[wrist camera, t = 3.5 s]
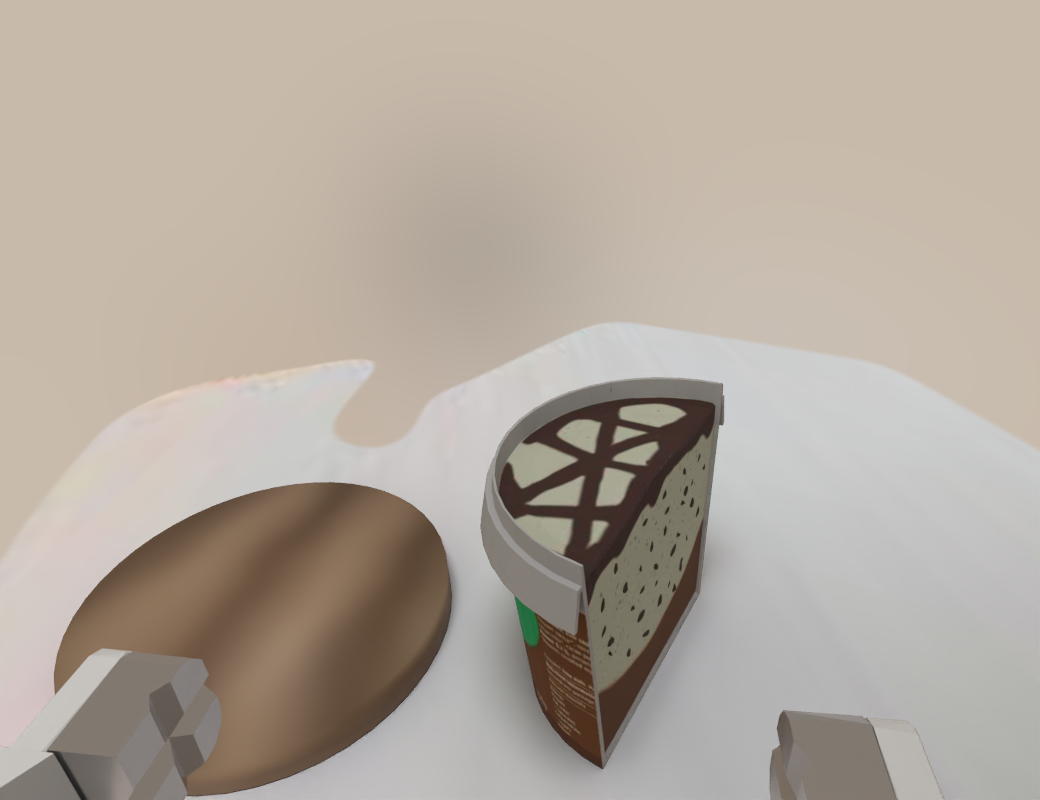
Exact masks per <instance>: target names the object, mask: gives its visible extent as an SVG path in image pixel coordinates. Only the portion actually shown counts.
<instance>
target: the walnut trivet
mask: <svg viewBox="0 0 1040 800" xmlns="http://www.w3.org/2000/svg"><path fill="white" fill-rule="evenodd" d="M451 596H452V593H451V586H450V578H449V572H448V565H447V559H446V553H445V549H444V547H443V544H442V541H441V538H440V536H439V534H438V533H437V531H436V529H435V527H434V526H433V524H432V523H431V522H430V521H429V520H428V519H427V517H426V516H425V515H424V514H423V513H422V512H420V511H419V510H418V509H417V508H415V507H414V506H413V505H411V504H410V503H408V502H406V501H405V500H403V499H401V498H399V497H397V496H395V495H392V494H390V493H388V492H385V491H382V490H378V489H375V488H371V487H367V486H361V485H355V484H347V483H334V482H329V483H304V484H294V485H287V486H281V487H275V488H270V489H266V490H262V491H257V492H253V493H250V494H247V495H243V496H240V497H237V498H233V499H231V500H228V501H225V502H223V503H220V504H217V505H215V506H212V507H210V508H208V509H205V510H203V511H201V512H199V513H196V514H194V515H192V516H190V517H188V518H186V519H184V520H182V521H181V522H179V523H177V524H175V525H173V526H171V527H170V528H168V529H166V530H165V531H163V532H161V533H160V534H158V535H157V536H155V537H153V538H152V539H150V540H149V541H148V542H146V543H145V544H143V545H142V546H141V547H139V548H138V549H136V550H135V551H134V552H132V553H131V554H130V555H129V556H128V557H126V558H125V559H124V560H123V561H122V562H120V563H119V564H118V565H117V566H116V567H115V568H114V569H113V570H112V571H111V572H110V573H109V574H108V575H107V576H106V577H105V578H104V579H102V580H101V581H100V583H99V584H98V585H97V586H96V587H95V588H94V590H93V591H92V592H91V593H90V594H89V596H88V597H87V598H86V599H85V601H84V602H83V603H82V605H81V606H80V608H79V609H78V611H77V612H76V614H75V615H74V617H73V619H72V620H71V622H70V624H69V626H68V628H67V630H66V632H65V634H64V636H63V639H62V642H61V645H60V648H59V651H58V654H57V658H56V664H55V671H54V686H55V695H56V694H57V692H58V691H59V690H60V689H61V688H62V687H63V686H64V684H65V683H66V682H67V681H68V680H69V679H70V677H71V676H72V675H73V674H74V673H75V672H76V670H77V669H78V668H79V667H80V666H81V665H82V664H83V662H84V661H85V660H86V659H87V658H88V657H89V656H90V655H92V654H93V653H95V652H97V651H98V650H100V649H102V648H104V649H115V650H125V651H135V652H143V653H151V654H160V655H168V656H177V657H186V658H194V659H202V661H203V663H204V665H205V668H206V670H207V672H208V674H209V675H208V677H207V679H206V680H205V682H204V685H205V686H206V687H207V688H209V689H210V690H211V691H212V692H213V693H214V694H216V695H217V697H218V700H219V703H220V706H221V719H222V723H221V726H220V730H219V734H218V737H217V741H216V744H215V746H214V748H213V750H212V751H211V753H210V755H209V757H208V759H207V760H206V762H205V763H204V764H203V765H202V766H200V767H199V768H198V769H196V770H195V771H194V772H192V773H191V774H190V775H188V776H187V790H188V794H187V796H200V795H211V794H222V793H230V792H234V791H239V790H244V789H249V788H253V787H258V786H261V785H264V784H267V783H270V782H273V781H276V780H279V779H282V778H286V777H289V776H291V775H293V774H295V773H298V772H300V771H302V770H304V769H307V768H309V767H311V766H313V765H316V764H318V763H320V762H322V761H323V760H325V759H327V758H329V757H330V756H332V755H334V754H336V753H338V752H339V751H341V750H343V749H345V748H346V747H348V746H349V745H351V744H352V743H353V742H355V741H356V740H358V739H359V738H361V737H362V736H363V735H365V734H366V733H368V732H369V731H370V730H372V729H373V728H374V727H375V726H376V725H378V724H379V723H380V722H381V721H382V720H383V719H385V718H386V717H387V716H388V715H389V714H390V713H391V712H393V711H394V710H395V709H396V708H397V706H398V705H399V704H400V703H401V702H402V701H403V700H404V699H405V698H406V697H407V696H408V695H409V694H410V692H411V691H412V690H413V689H414V688H415V686H416V685H417V684H418V682H419V681H420V679H421V678H422V677H423V675H424V674H425V673H426V671H427V670H428V668H429V666H430V665H431V663H432V661H433V659H434V658H435V656H436V654H437V652H438V650H439V648H440V646H441V643H442V640H443V638H444V635H445V633H446V630H447V626H448V621H449V617H450V612H451Z"/></svg>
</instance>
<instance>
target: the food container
mask: <svg viewBox="0 0 1040 800" xmlns="http://www.w3.org/2000/svg"><path fill="white" fill-rule="evenodd" d="M722 394H723V384H722V383H716V382H711V381H705V380H697V379H686V378H662V377H652V378H633V379H625V380H617V381H610V382H605V383H600V384H595V385H591V386H587V387H583V388H580V389H577V390H573V391H570V392H567V393H565V394H563V395H560V396H558V397H555V398H553V399H551V400H549V401H547V402H545V403H543V404H541V405H540V406H538V407H536V408H534V409H533V410H531V411H530V412H529V413H527V414H526V415H525V416H523V417H522V418H521V419H519V420H518V421H517V422H516V423H515V424H514V425H513V426H512V428H511V429H510V430H509V431H508V432H507V433H506V435H505V436H504V438H503V439H502V441H501V442H500V444H499V446H498V449H497V451H496V454H495V457H494V458H493V460H492V463H491V465H490V468H489V471H488V473H487V478H486V485H485V492H484V500H483V507H482V516H481V533H482V540H483V546H484V549H485V551H486V554H487V556H488V559H489V561H490V564H491V566H492V567H493V569H494V570H495V572H496V573H497V575H498V576H499V578H500V579H501V581H502V582H503V584H504V585H505V586H506V587H507V588H508V589H509V590H510V591H511V592H512V593H513V594H514V596H515V600H516V605H517V609H518V614H519V619H520V623H521V628H522V632H523V637H524V642H525V646H526V651H527V655H528V660H529V665H530V669H531V674H532V678H533V683H534V688H535V692H536V696H537V699H538V701H539V704H540V706H541V708H542V711H543V713H544V714H545V716H546V718H547V719H548V721H549V722H550V724H551V726H552V727H553V728H554V730H555V731H556V732H557V733H558V734H559V735H560V737H561V738H562V739H563V740H564V741H565V742H566V743H567V744H568V745H569V746H570V747H572V748H573V749H574V750H575V751H576V752H577V753H579V754H580V755H581V756H582V757H584V758H585V759H587V760H589V761H590V762H592V763H593V764H595V765H597V766H598V767H600V768H601V769H603V768H604V767H605V765H606V763H607V761H608V759H609V758H610V756H611V754H612V752H613V750H614V748H615V747H616V745H617V743H618V741H619V739H620V737H621V736H622V734H623V732H624V730H625V728H626V727H627V725H628V723H629V721H630V719H631V717H632V716H633V714H634V712H635V710H636V708H637V706H638V705H639V703H640V701H641V699H642V697H643V696H644V694H645V692H646V690H647V688H648V686H649V685H650V683H651V681H652V679H653V677H654V676H655V674H656V672H657V670H658V668H659V666H660V665H661V663H662V661H663V659H664V657H665V655H666V654H667V652H668V650H669V648H670V646H671V645H672V643H673V641H674V639H675V637H676V635H677V634H678V632H679V630H680V628H681V626H682V624H683V623H684V621H685V619H686V617H687V615H688V614H689V612H690V610H691V608H692V606H693V604H694V603H695V601H696V599H697V597H698V595H699V593H700V584H701V576H702V567H703V558H704V550H705V541H706V532H707V524H708V515H709V507H710V498H711V489H712V481H713V472H714V463H715V455H716V446H717V438H718V429H719V425H723V423H724V395H722Z"/></svg>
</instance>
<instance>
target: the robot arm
mask: <svg viewBox="0 0 1040 800" xmlns="http://www.w3.org/2000/svg"><path fill="white" fill-rule="evenodd" d="M208 675H209V674H208V672H207V670H206V668H205V665H204V663H203V661H202V659H194V658H186V657H177V656H168V655H160V654H151V653H143V652H135V651H125V650H115V649H104V648H102V649H100V650H98V651H97V652H95V653H93V654H92V655H90V656H89V657H88V658H87V659H86V660H85V661H84V662H83V664H82V665H81V666H80V667H79V668H78V669H77V670H76V672H75V673H74V674H73V675H72V676H71V677H70V679H69V680H68V681H67V682H66V683H65V684H64V686H63V687H62V688H61V689H60V690H59V691H58V692H57V694H56V695H55V696H54V697H53V698H52V699H51V701H50V702H49V703H48V704H47V705H46V706H45V708H44V709H43V710H42V711H41V712H40V713H39V714H38V716H37V717H36V718H35V719H34V720H33V721H32V723H31V724H30V725H29V726H28V727H27V728H26V730H25V731H24V732H23V733H22V734H21V735H20V737H19V738H18V739H17V740H16V741H15V742H14V743H13V745H12V746H11V747H0V800H184V799H185V797H186V795H187V794H188V790H187V776H188V775H190V774H191V773H192V772H194V771H195V770H196V769H198V768H199V767H200V766H202V765H203V764H204V763H205V762H206V760H207V759H208V757H209V755H210V753H211V751H212V750H213V748H214V746H215V744H216V741H217V737H218V734H219V730H220V726H221V723H222V719H221V706H220V703H219V700H218V697H217V695H216V694H214V693H213V692H212V691H211V690H210V689H209V688H207V687H206V686H205V685H204V682H205V680H206V679H207V677H208ZM777 731H778V737H779V742H780V746H778V747H777V748H775V749H774V750H772V757H771V763H770V798H771V800H944V797H943V795H942V792H941V790H940V787H939V785H938V782H937V780H936V777H935V775H934V772H933V770H932V767H931V765H930V762H929V760H928V757H927V755H926V752H925V750H924V747H923V745H922V742H921V740H920V737H919V735H918V732H917V730H916V729H915V728H914V727H913V725H912V724H911V723H910V722H908V721H901V720H888V719H875V718H864V717H862V716H853V715H839V714H826V713H813V712H799V711H786V710H783V712H782V713H781V714H780V716H779V721H778V726H777Z"/></svg>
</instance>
